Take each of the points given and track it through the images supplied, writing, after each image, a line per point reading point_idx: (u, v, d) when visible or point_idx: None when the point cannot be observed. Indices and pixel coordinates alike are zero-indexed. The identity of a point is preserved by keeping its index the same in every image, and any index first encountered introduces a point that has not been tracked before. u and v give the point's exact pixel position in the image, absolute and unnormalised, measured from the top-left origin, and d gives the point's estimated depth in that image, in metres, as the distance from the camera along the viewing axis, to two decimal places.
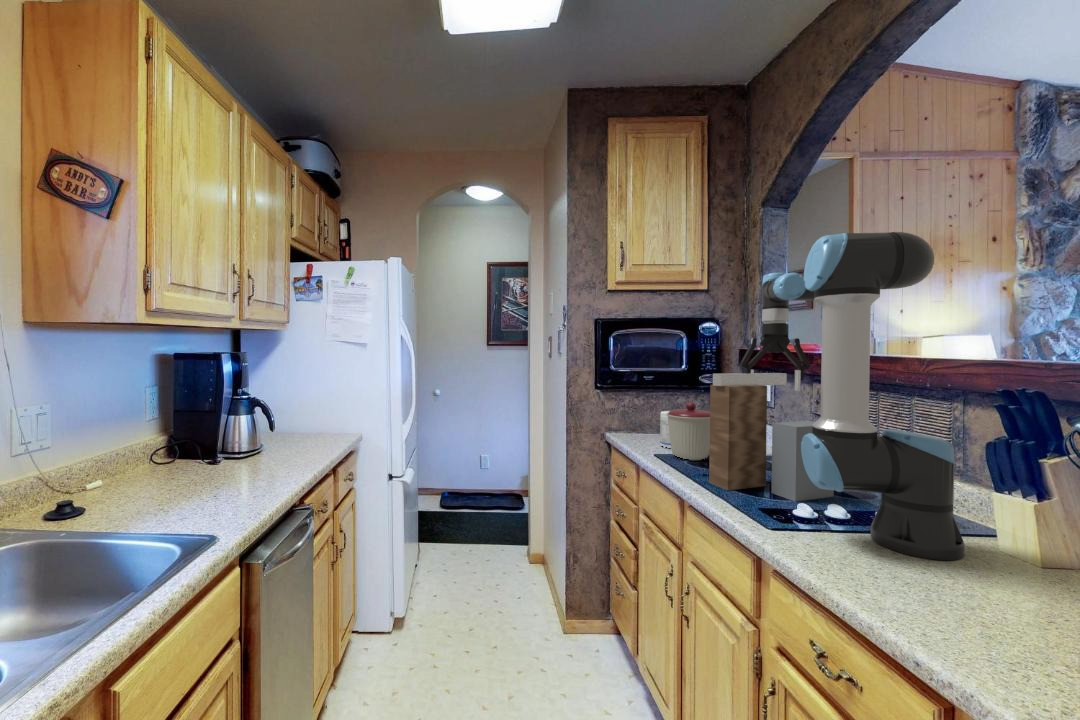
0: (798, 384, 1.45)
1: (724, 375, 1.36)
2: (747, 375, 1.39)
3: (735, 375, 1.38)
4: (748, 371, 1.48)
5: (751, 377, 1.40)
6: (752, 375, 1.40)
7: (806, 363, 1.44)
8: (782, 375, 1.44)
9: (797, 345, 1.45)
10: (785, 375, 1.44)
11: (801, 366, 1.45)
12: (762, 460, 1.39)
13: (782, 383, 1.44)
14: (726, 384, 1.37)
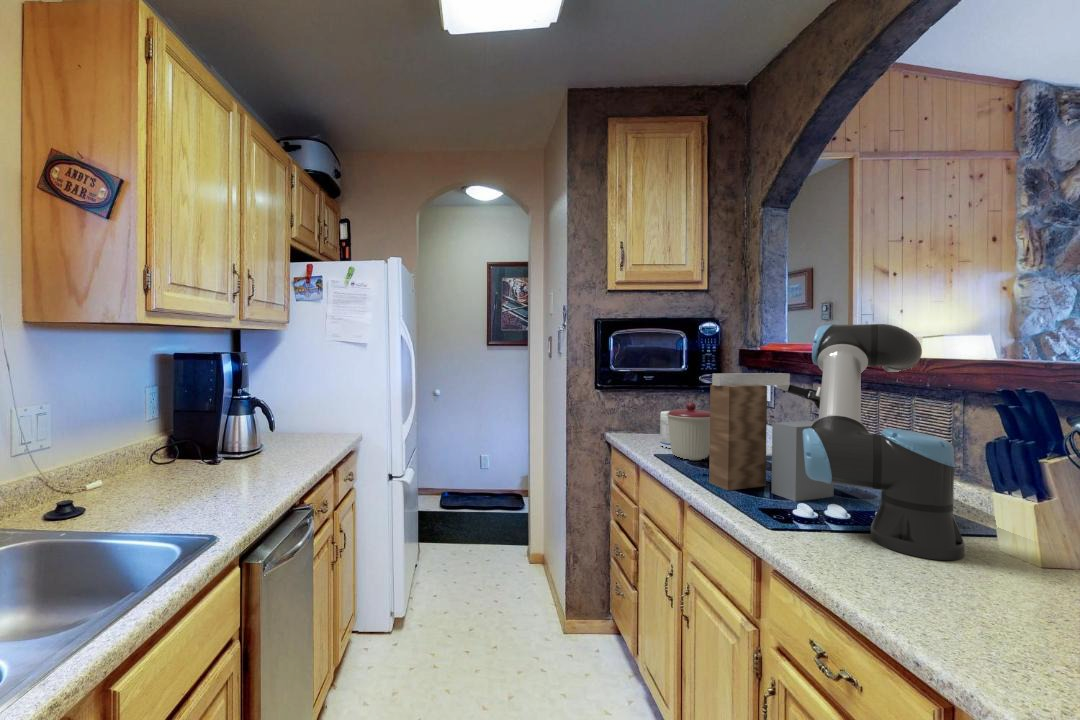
0: None
1: (723, 375, 1.37)
2: (747, 375, 1.39)
3: (735, 375, 1.38)
4: None
5: (752, 377, 1.40)
6: (753, 375, 1.40)
7: None
8: (785, 375, 1.43)
9: None
10: (788, 375, 1.43)
11: None
12: (762, 460, 1.39)
13: (785, 383, 1.43)
14: (725, 384, 1.37)
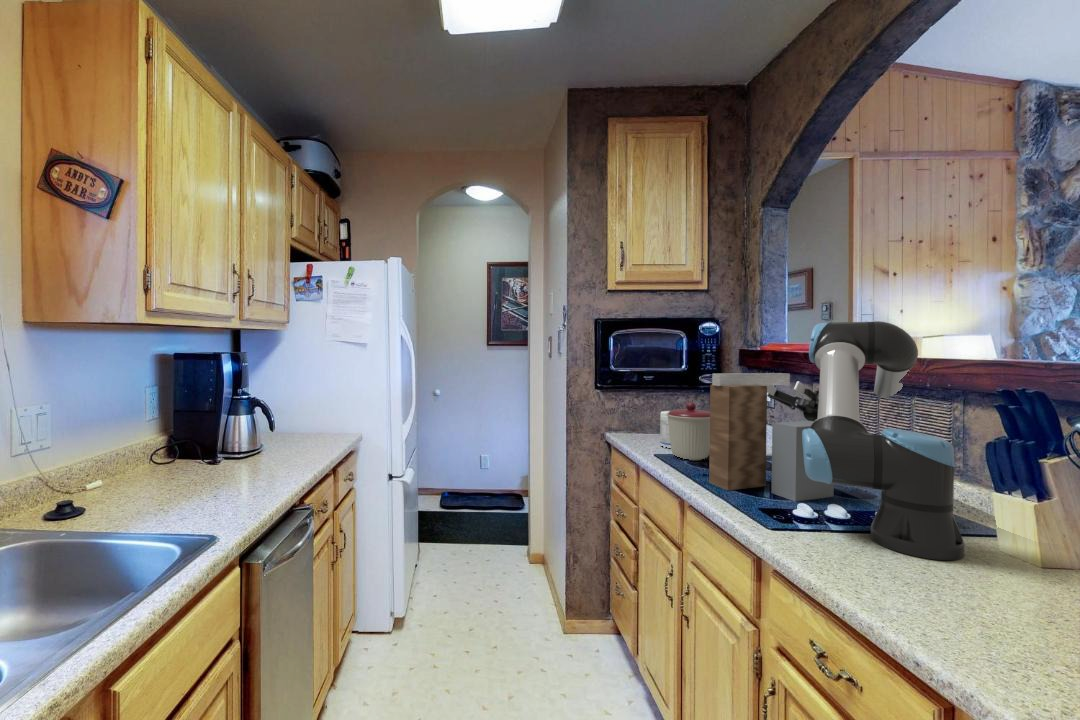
0: None
1: (723, 375, 1.37)
2: (747, 375, 1.39)
3: (735, 375, 1.38)
4: None
5: (752, 377, 1.40)
6: (753, 375, 1.40)
7: None
8: (785, 375, 1.43)
9: None
10: (788, 375, 1.43)
11: None
12: (762, 460, 1.39)
13: (785, 383, 1.43)
14: (725, 384, 1.37)
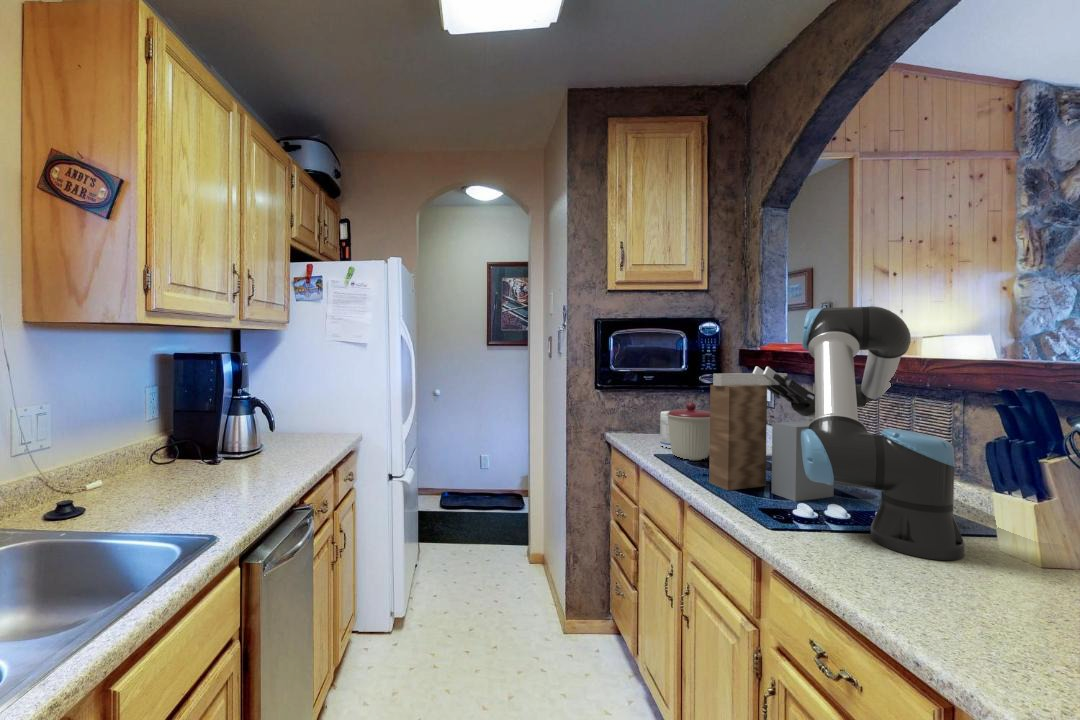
0: None
1: (724, 375, 1.36)
2: (747, 375, 1.39)
3: (736, 375, 1.38)
4: None
5: (751, 377, 1.40)
6: (752, 375, 1.40)
7: None
8: (782, 375, 1.44)
9: None
10: (785, 375, 1.44)
11: None
12: (762, 460, 1.39)
13: None
14: (726, 384, 1.37)
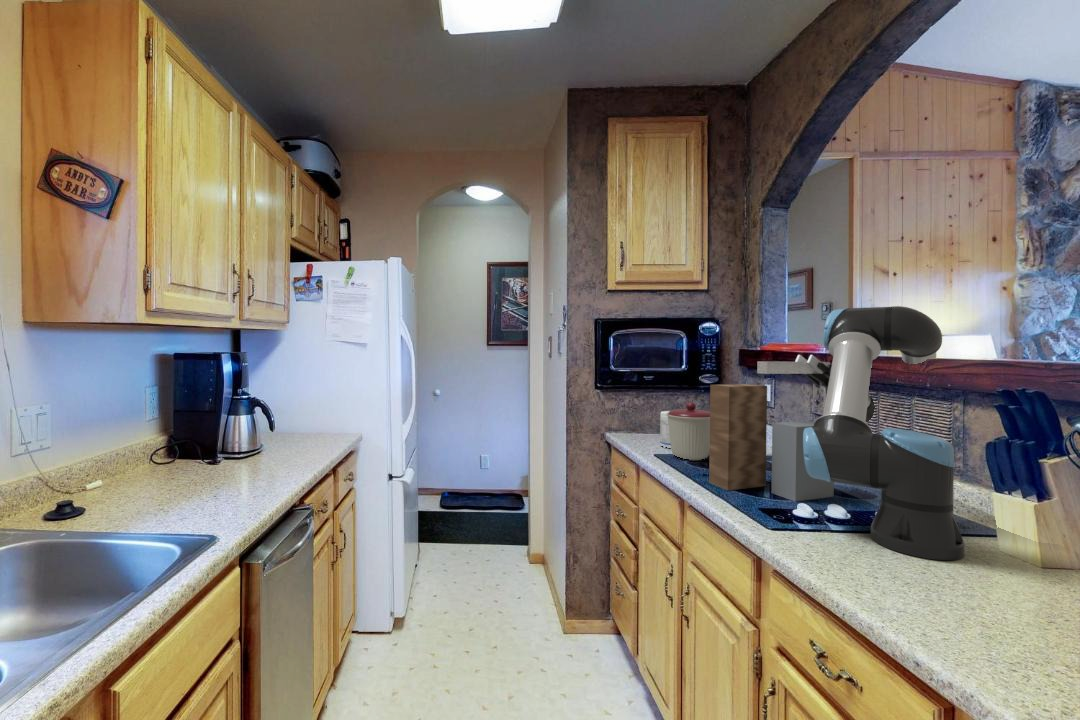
0: None
1: (770, 363, 1.34)
2: (792, 363, 1.37)
3: (781, 363, 1.36)
4: None
5: (796, 365, 1.38)
6: (797, 363, 1.38)
7: None
8: (825, 364, 1.42)
9: None
10: None
11: None
12: (762, 460, 1.39)
13: None
14: (772, 372, 1.34)
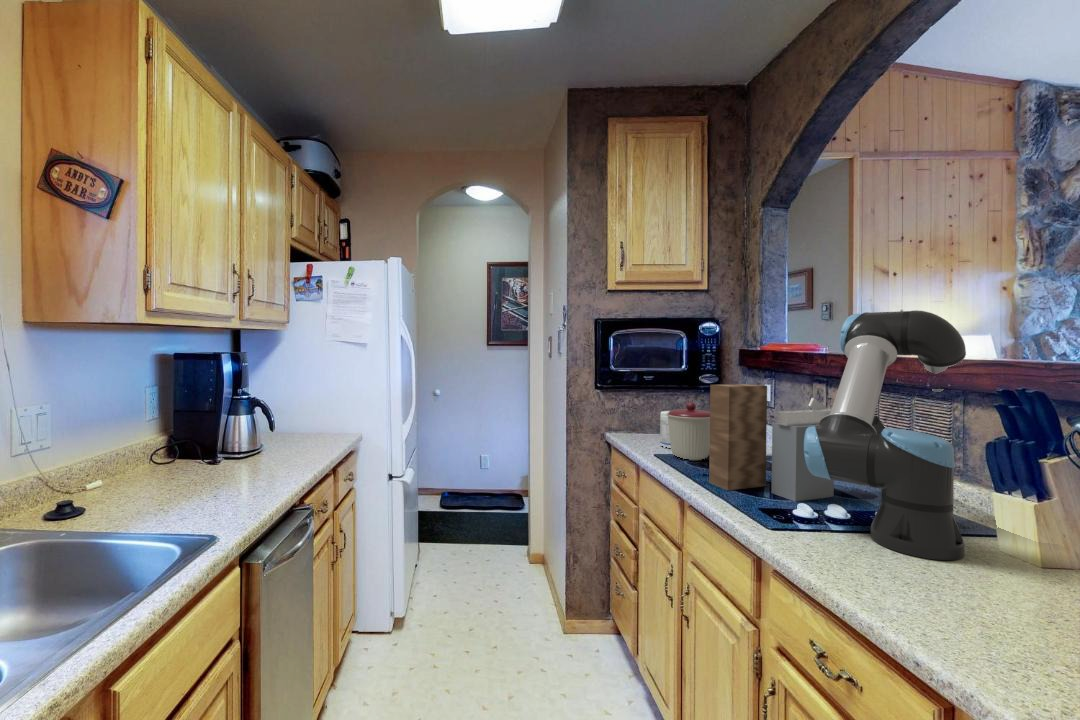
0: None
1: (790, 414, 1.27)
2: (814, 413, 1.30)
3: (802, 414, 1.28)
4: None
5: (818, 415, 1.30)
6: (819, 413, 1.30)
7: None
8: None
9: None
10: None
11: None
12: (762, 460, 1.39)
13: None
14: (792, 423, 1.27)
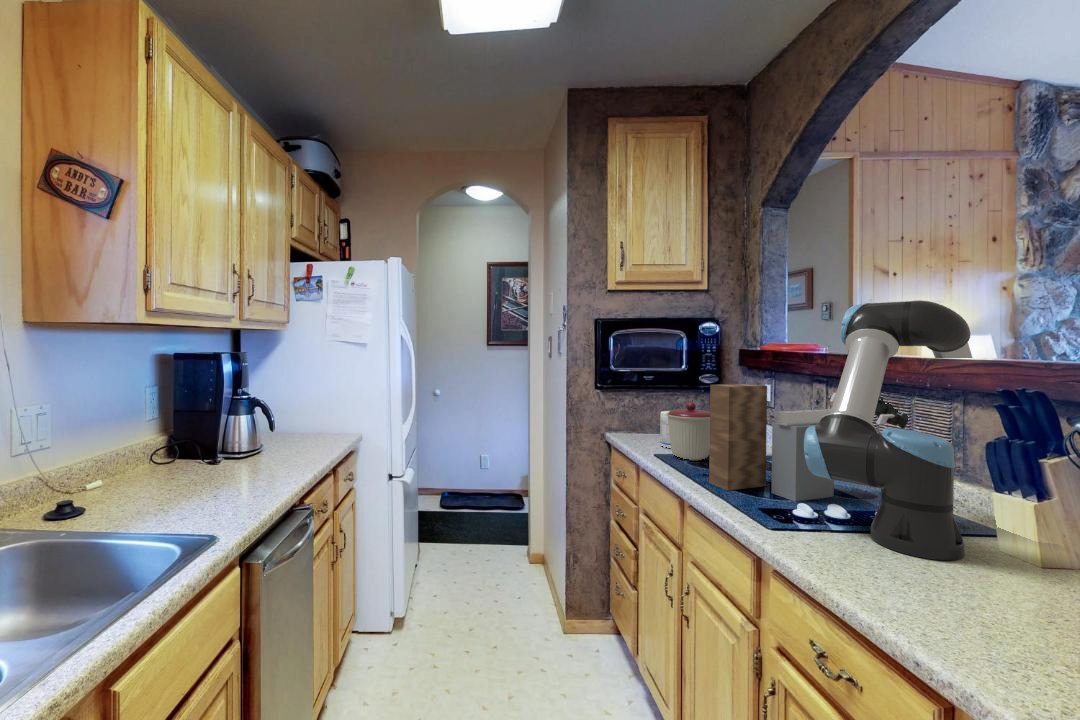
0: (885, 415, 1.29)
1: (790, 414, 1.27)
2: (814, 413, 1.30)
3: (802, 414, 1.28)
4: None
5: (818, 415, 1.30)
6: (819, 413, 1.30)
7: (904, 418, 1.31)
8: None
9: (904, 414, 1.36)
10: None
11: None
12: (762, 460, 1.39)
13: None
14: (792, 423, 1.27)
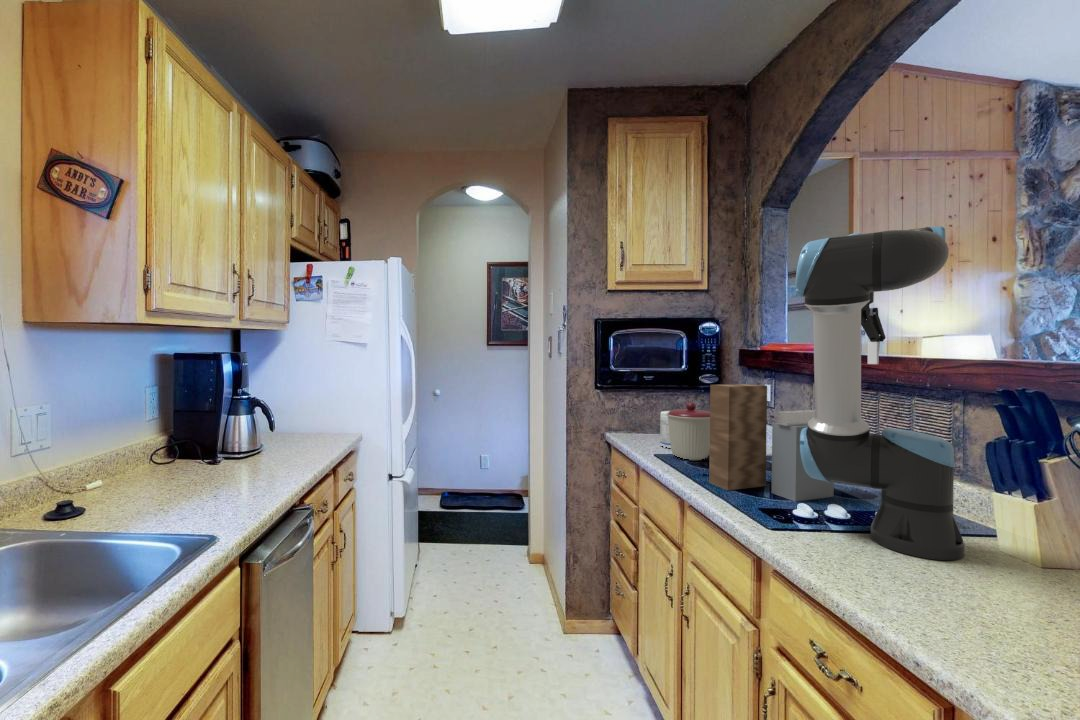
0: (877, 357, 1.35)
1: (790, 414, 1.27)
2: (814, 413, 1.30)
3: (802, 414, 1.28)
4: None
5: None
6: None
7: (882, 334, 1.36)
8: None
9: (876, 315, 1.35)
10: None
11: (879, 337, 1.36)
12: (762, 460, 1.39)
13: None
14: (792, 423, 1.27)
